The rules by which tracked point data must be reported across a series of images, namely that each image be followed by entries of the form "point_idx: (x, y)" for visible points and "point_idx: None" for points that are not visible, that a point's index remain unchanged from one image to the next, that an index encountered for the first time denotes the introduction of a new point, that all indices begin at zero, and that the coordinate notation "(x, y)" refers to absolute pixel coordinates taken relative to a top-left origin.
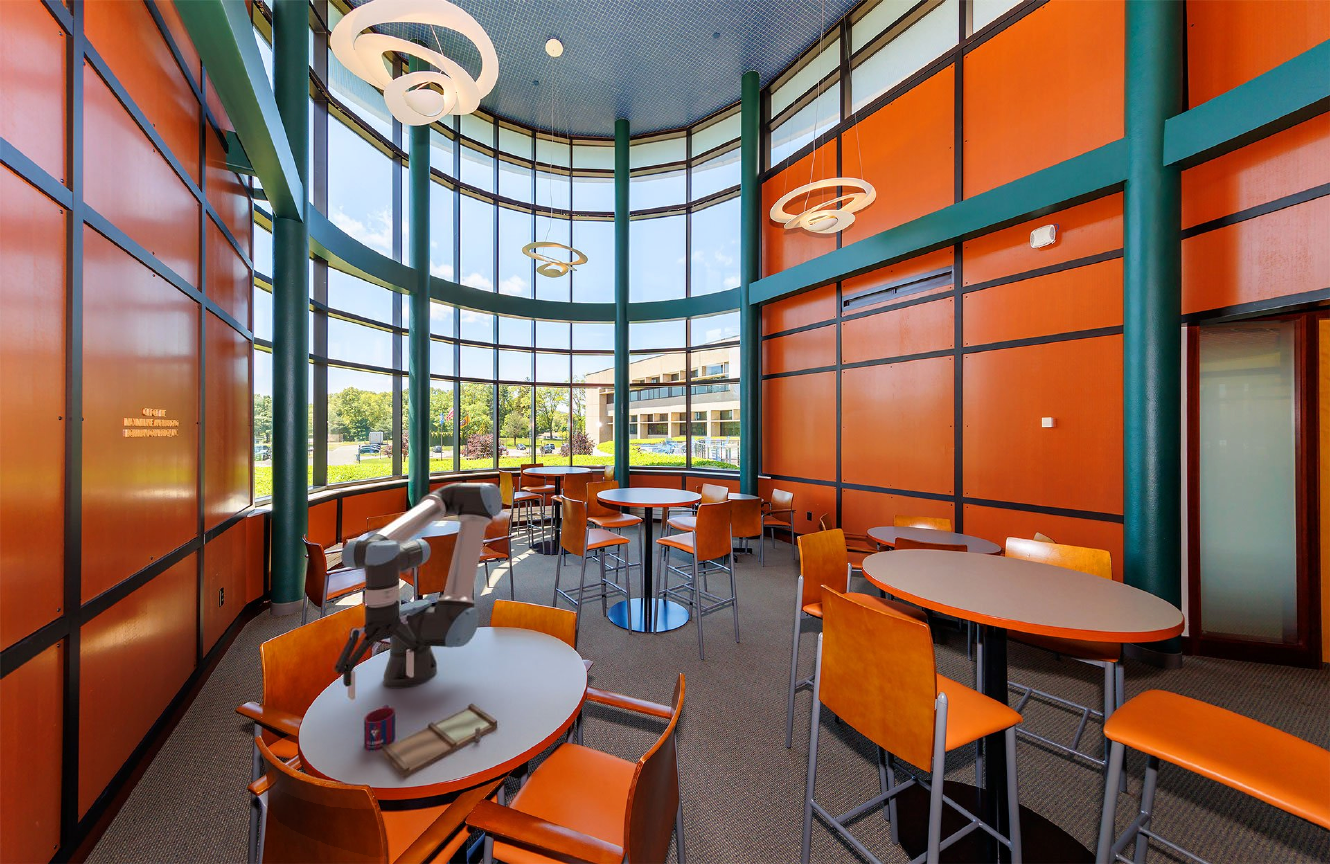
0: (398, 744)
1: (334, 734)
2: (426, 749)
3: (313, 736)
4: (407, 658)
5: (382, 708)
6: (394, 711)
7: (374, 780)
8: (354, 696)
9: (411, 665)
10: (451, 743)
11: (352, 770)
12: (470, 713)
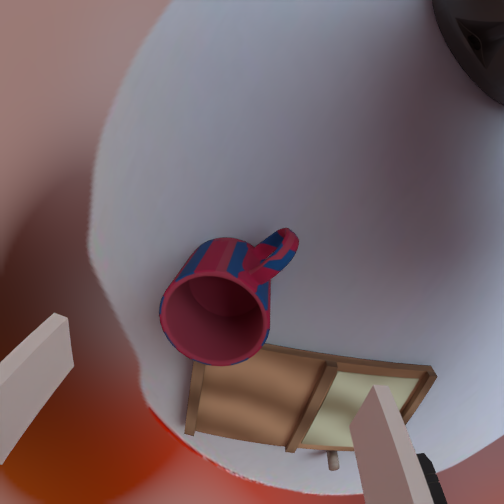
0: None
1: (178, 101)
2: (255, 417)
3: (144, 57)
4: (391, 479)
5: (246, 289)
6: (255, 350)
7: (148, 384)
8: (65, 372)
9: (365, 478)
10: (286, 448)
11: (130, 320)
12: (404, 394)
